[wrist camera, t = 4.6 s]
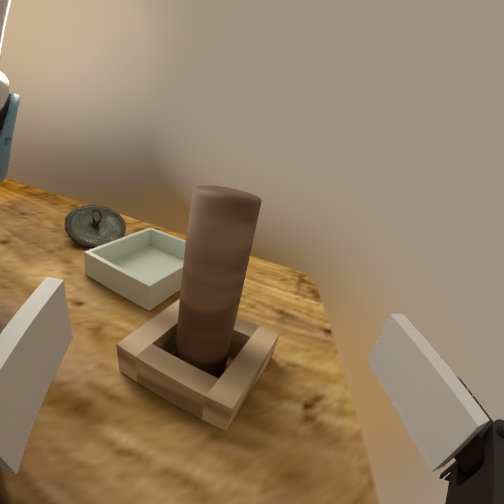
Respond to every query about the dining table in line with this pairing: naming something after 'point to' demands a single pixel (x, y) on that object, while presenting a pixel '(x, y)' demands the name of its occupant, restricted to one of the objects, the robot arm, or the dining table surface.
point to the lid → (94, 226)
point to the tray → (139, 266)
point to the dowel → (214, 274)
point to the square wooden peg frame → (191, 378)
